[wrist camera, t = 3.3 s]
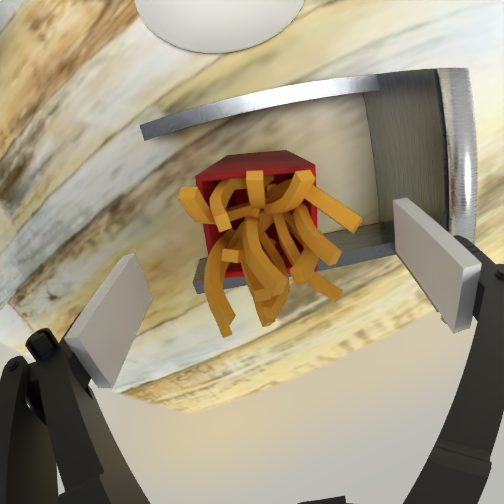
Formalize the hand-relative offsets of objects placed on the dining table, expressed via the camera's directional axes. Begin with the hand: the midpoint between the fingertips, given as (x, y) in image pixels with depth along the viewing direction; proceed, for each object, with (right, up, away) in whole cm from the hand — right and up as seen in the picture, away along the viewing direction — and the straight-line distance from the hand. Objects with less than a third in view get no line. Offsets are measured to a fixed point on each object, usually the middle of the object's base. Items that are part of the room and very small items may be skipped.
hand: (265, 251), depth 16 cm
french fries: (+1, +5, +12) cm, 13 cm away
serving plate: (-3, +22, +3) cm, 22 cm away
